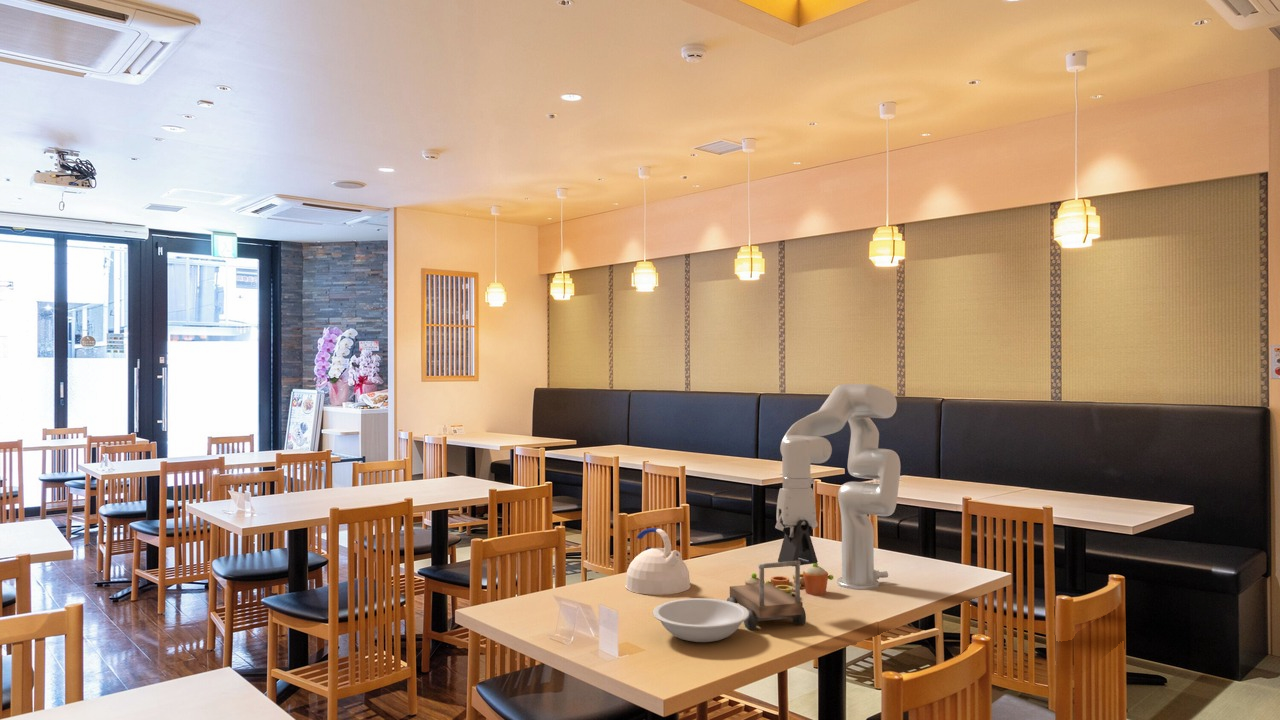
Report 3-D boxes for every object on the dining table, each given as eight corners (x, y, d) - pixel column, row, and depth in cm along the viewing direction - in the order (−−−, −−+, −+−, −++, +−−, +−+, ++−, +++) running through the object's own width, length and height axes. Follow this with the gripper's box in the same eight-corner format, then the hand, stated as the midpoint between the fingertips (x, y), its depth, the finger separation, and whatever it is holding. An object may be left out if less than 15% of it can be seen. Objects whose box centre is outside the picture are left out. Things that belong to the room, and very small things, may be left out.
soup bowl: (657, 621, 221) (657, 596, 221) (748, 624, 218) (748, 599, 218) (648, 653, 197) (648, 625, 197) (750, 656, 195) (750, 627, 195)
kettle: (652, 600, 242) (651, 537, 242) (612, 585, 259) (611, 526, 259) (705, 588, 254) (704, 529, 254) (663, 574, 270) (663, 519, 271)
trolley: (775, 607, 233) (774, 544, 233) (808, 629, 214) (808, 560, 214) (724, 612, 229) (723, 548, 229) (753, 634, 210) (753, 565, 210)
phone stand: (791, 566, 222) (791, 521, 222) (777, 562, 227) (777, 518, 228) (817, 562, 226) (817, 518, 227) (803, 558, 232) (803, 515, 232)
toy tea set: (805, 583, 260) (805, 552, 260) (839, 595, 246) (838, 562, 246) (736, 594, 248) (736, 562, 248) (768, 607, 234) (767, 573, 234)
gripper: (815, 480, 233) (815, 546, 233) (763, 483, 229) (764, 550, 228) (829, 484, 226) (829, 551, 226) (776, 486, 221) (776, 556, 221)
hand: (796, 550), depth 227 cm, fingers closed on phone stand, 2 cm apart
